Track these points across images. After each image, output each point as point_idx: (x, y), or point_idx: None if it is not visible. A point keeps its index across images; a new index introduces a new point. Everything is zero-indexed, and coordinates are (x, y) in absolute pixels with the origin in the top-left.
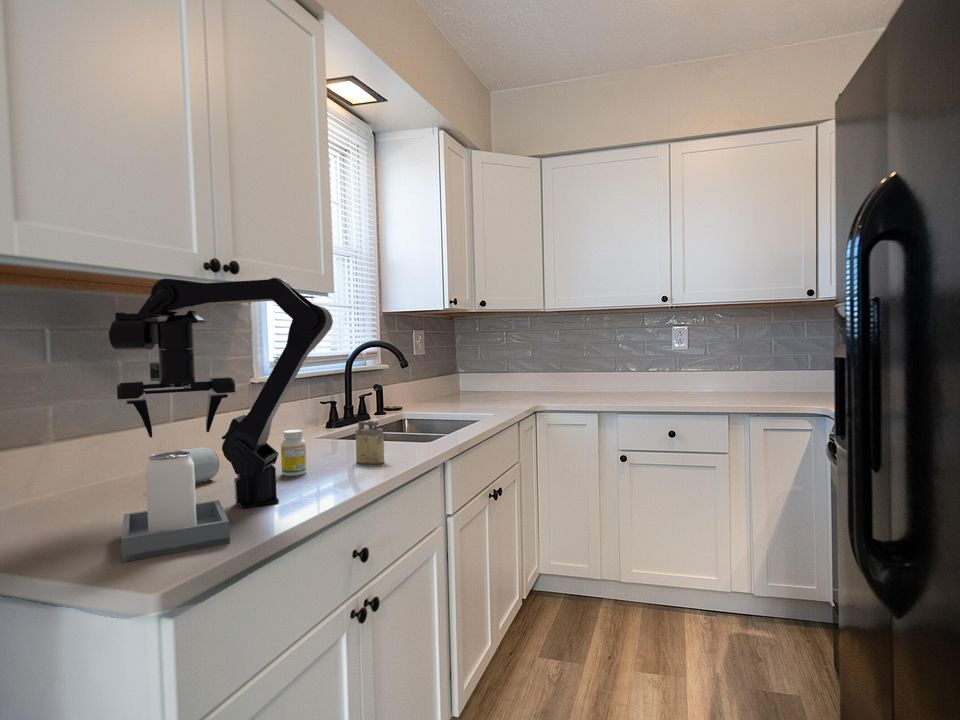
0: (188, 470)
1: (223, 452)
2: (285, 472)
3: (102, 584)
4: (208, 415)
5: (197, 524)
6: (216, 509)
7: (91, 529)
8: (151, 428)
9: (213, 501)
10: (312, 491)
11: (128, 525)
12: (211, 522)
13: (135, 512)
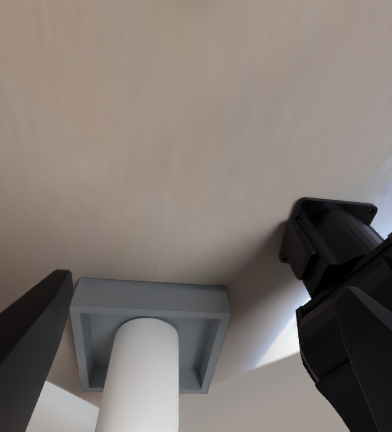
0: None
1: (302, 335)
2: None
3: (78, 393)
4: (377, 426)
5: (184, 318)
6: (213, 338)
7: (11, 217)
8: (55, 351)
9: (220, 316)
10: None
11: (84, 357)
12: (203, 320)
13: (88, 307)
